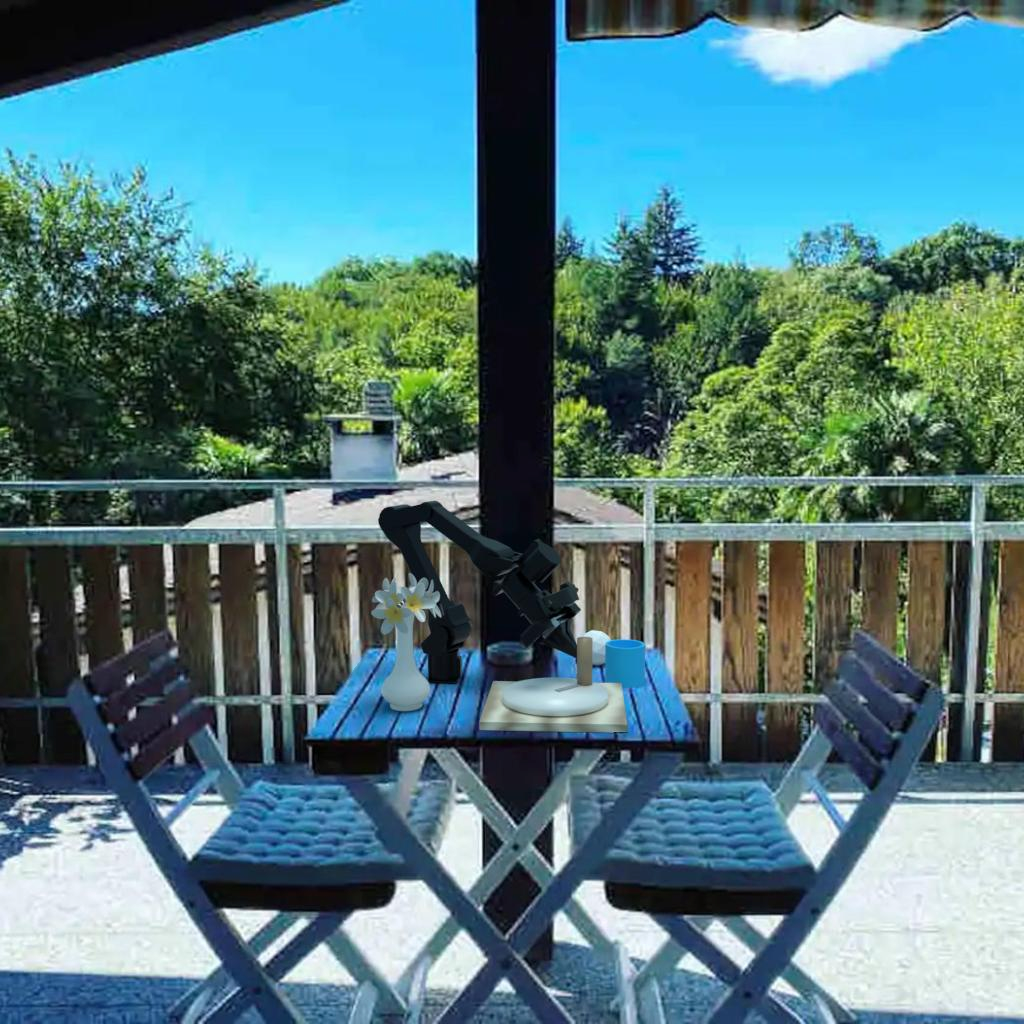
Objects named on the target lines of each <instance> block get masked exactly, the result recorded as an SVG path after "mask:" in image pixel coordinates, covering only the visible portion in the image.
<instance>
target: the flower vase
mask: <svg viewBox="0 0 1024 1024" xmlns="http://www.w3.org/2000/svg"><path fill="white" fill-rule="evenodd" d="M408 578H409V583H410V585H409V587H407V586H399V585H398V584H397V579H396V577H394V578H393V579H392V581H391V583H390V582H389V578H387V577H385V578H384V579H383V581H382V584H381V587H382V590H376V591H375V593H374V596H373V597H372V599H371V602H372V603H378V604H376V606H375V609H373V610H372V611H371V612H370V613H371V616H373V617H374V618H376V619H379V620H382V619H383V622H382V624H381V625H380V626H381V627H380V633H381V634H382V635H388V634H390V632H392V630H393V629H394V627H396V635H397V637H396V645H397V646H396V657H395V658H396V659H395V663H394V666H393V668H392V671H391V673H390V674H388V676H387V677H386V678H385V680H384V681H383V683H382V685H381V695H382V697H383V699H384V700H385V701H386V702H387V703H389V708H390V709H391V710H393V711H397V712H411V711H417V710H420V709H421V708H422V707H423V702H424V701H426V699H427V698H428V697H429V696H430V693H431V686H430V682H428V680H427V678H426V677H425V675H423V674H422V672H420V670H419V668H418V666H417V662H416V660H415V659H416V658H415V651H414V621H415V618H416V619H417V620H418V621H419V622H420V623H424V622H426V616H427V615H426V613H425V611H424V610H428V609H429V610H430V611H431V612H432V614H433V615H434V617H435V618H436V614H437V615H438V616H439V617H440V618H441V612H440V610H439V608H438V606H437V605H436V603H437V602H438V601H439V599H440V593H439V592H438V591H436V592H434V593H432V592H433V589H434V583H433V580H431V584H430V587H429V590H428V591H426V592H425V590H426V589H427V587H428V580H427V579H426V578H422V579H421V580H420V581H419V582H418V584H417V581H416V579H415V577H414V576H413V575H412V574H411V572H409V573H408ZM416 584H417V585H416ZM435 613H436V614H435Z"/></svg>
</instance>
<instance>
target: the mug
mask: <svg viewBox="0 0 1024 1024" xmlns="http://www.w3.org/2000/svg"><path fill="white" fill-rule="evenodd" d="M610 640H611V641H608V642H606V643H605V663H604V666H605V667H604V673H605V675H604V678H605V679H604V680H605V681H604V683H621V684H622V689H623V688H624V689H628V688H629V689H632V688H638V687H641V686H644V685H645V683H646V678H645V677H646V676H645V675H646V674H645V673H646V672H645V671H646V670H645V669H646V644H645V642H643V641H641V640H636V639H628V638H627V639H626V638H625V639H624V638H623V639H610Z"/></svg>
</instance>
